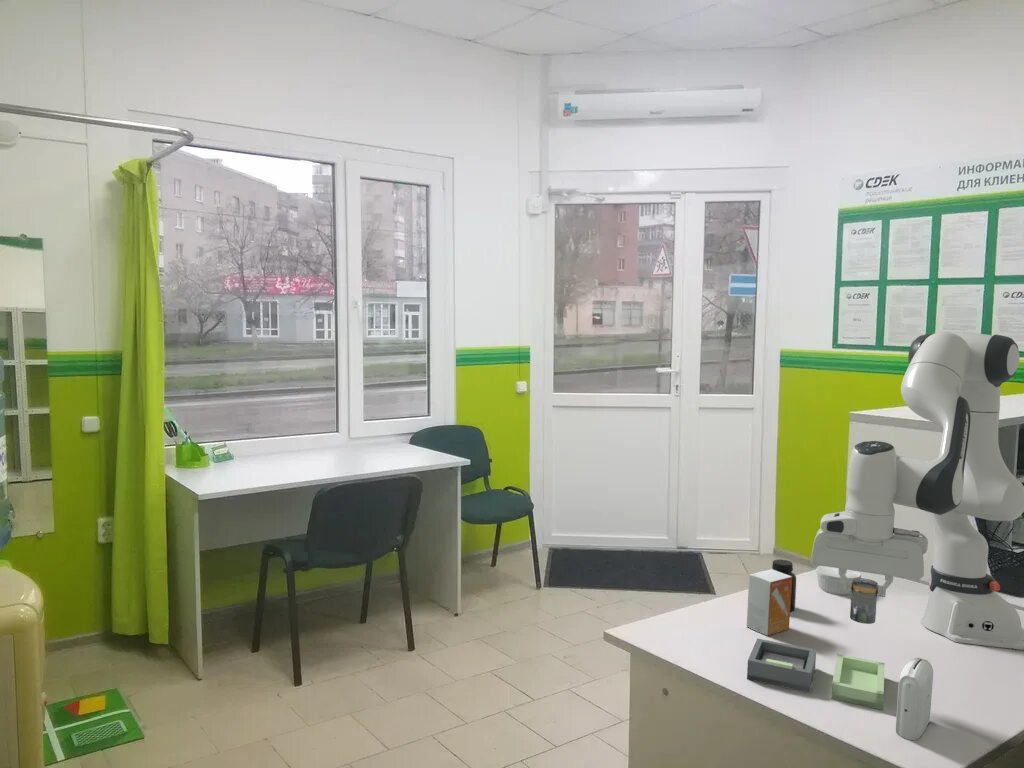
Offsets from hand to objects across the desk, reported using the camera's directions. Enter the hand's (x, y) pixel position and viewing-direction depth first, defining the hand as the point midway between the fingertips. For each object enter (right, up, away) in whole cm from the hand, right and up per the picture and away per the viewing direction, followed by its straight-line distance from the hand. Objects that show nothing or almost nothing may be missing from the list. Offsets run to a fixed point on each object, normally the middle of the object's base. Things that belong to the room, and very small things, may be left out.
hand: (864, 593), depth 154 cm
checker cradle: (-14, -19, +7) cm, 24 cm away
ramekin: (+19, -15, +58) cm, 63 cm away
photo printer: (+3, -21, -13) cm, 25 cm away
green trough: (0, -19, +2) cm, 20 cm away
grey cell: (0, -5, 0) cm, 5 cm away
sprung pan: (-14, -17, +7) cm, 23 cm away
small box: (-9, -17, +31) cm, 36 cm away
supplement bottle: (-2, -16, +43) cm, 46 cm away
